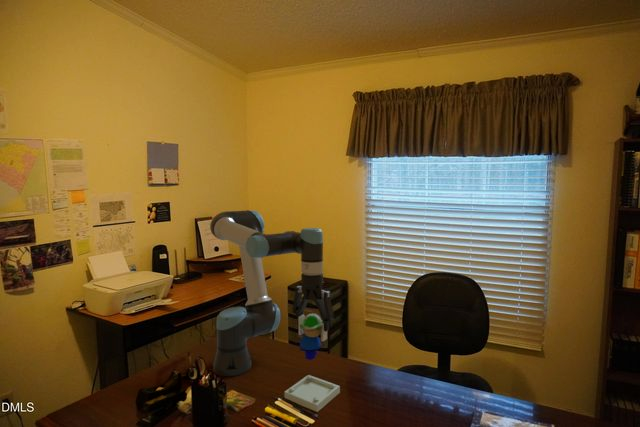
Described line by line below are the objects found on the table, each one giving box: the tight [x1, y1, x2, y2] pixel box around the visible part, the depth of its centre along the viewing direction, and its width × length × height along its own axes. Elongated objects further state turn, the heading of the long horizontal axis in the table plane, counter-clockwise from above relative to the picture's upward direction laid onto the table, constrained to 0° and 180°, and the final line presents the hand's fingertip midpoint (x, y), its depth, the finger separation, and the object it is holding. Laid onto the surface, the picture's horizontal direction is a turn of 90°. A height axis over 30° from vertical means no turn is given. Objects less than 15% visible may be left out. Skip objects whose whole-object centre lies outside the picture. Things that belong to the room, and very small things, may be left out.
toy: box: [299, 313, 323, 360], centre depth 127 cm, size 9×9×15 cm
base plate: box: [284, 374, 341, 413], centre depth 128 cm, size 14×14×3 cm
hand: (312, 336), depth 127 cm, fingers closed on toy, 9 cm apart
